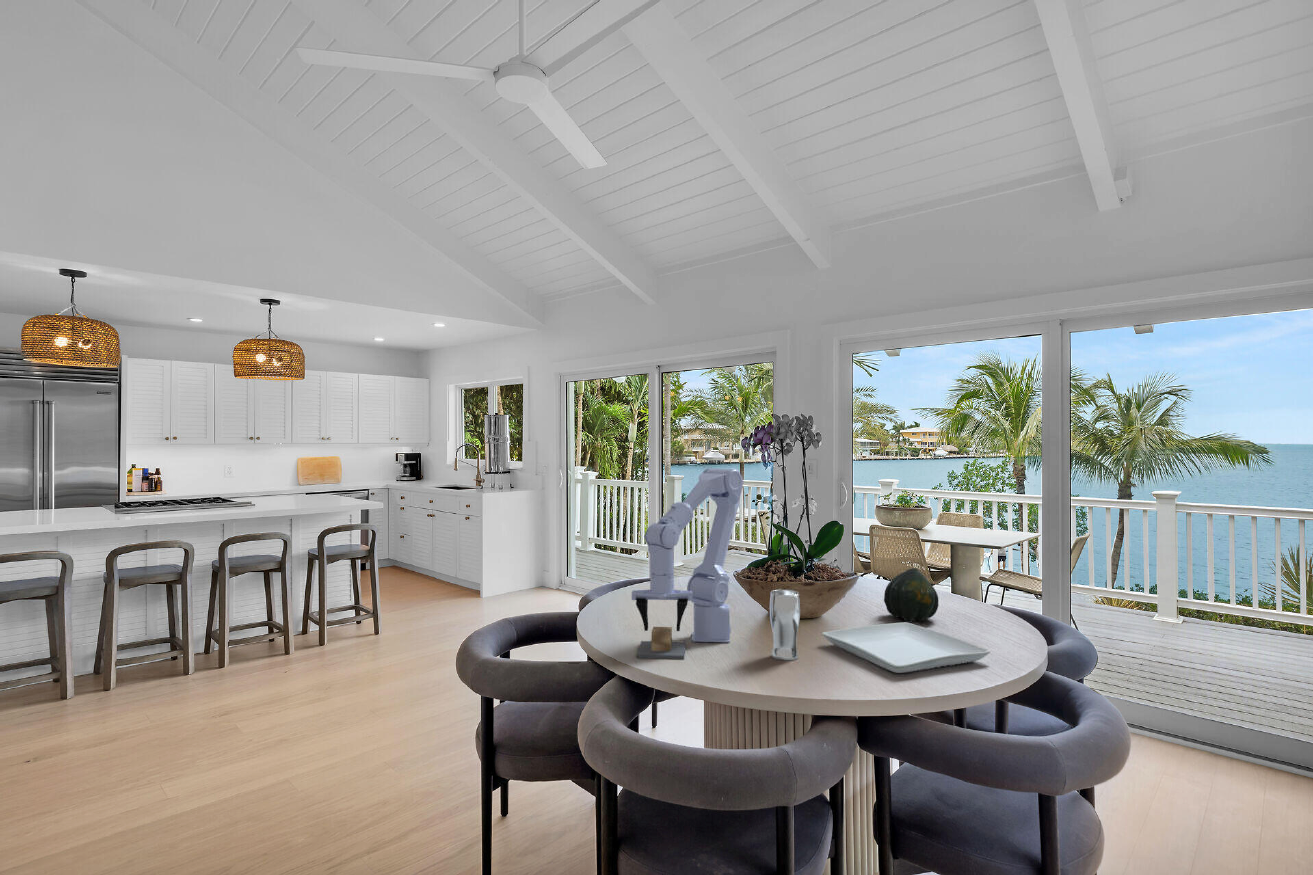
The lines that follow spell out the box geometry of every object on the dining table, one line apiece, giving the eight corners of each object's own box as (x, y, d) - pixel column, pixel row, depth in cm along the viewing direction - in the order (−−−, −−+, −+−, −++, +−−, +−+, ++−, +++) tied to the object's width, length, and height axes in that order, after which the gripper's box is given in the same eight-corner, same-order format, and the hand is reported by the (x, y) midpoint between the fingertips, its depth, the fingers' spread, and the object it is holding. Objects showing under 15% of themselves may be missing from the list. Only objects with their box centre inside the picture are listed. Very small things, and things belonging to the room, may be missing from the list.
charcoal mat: (685, 645, 165) (685, 641, 165) (684, 659, 154) (684, 655, 154) (641, 644, 166) (641, 640, 166) (636, 657, 155) (636, 654, 155)
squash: (883, 605, 183) (918, 564, 184) (868, 595, 198) (901, 558, 199) (923, 640, 182) (958, 599, 183) (904, 628, 197) (937, 590, 198)
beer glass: (804, 655, 157) (803, 591, 157) (794, 663, 151) (794, 596, 151) (776, 650, 160) (775, 588, 161) (765, 658, 154) (765, 593, 155)
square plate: (819, 646, 165) (819, 630, 165) (907, 635, 175) (907, 620, 175) (896, 681, 140) (896, 663, 140) (993, 666, 150) (993, 648, 150)
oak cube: (671, 645, 162) (671, 627, 162) (670, 651, 157) (670, 632, 157) (653, 645, 162) (653, 626, 162) (651, 650, 157) (651, 631, 158)
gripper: (630, 576, 157) (630, 634, 156) (691, 576, 155) (692, 634, 155) (633, 570, 164) (633, 625, 163) (692, 571, 162) (692, 626, 162)
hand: (662, 629), depth 160 cm, fingers open, 7 cm apart
